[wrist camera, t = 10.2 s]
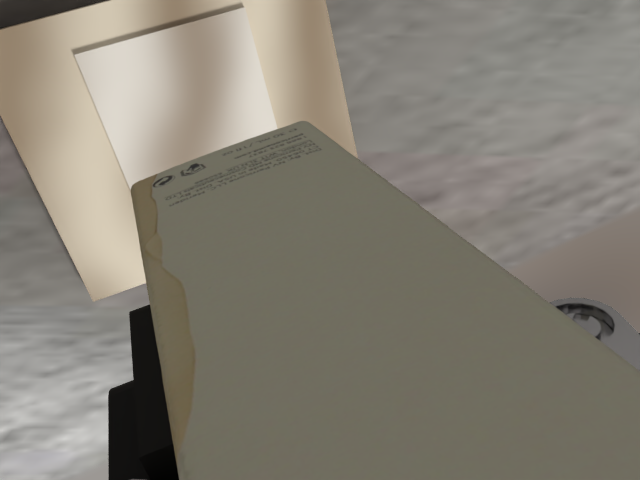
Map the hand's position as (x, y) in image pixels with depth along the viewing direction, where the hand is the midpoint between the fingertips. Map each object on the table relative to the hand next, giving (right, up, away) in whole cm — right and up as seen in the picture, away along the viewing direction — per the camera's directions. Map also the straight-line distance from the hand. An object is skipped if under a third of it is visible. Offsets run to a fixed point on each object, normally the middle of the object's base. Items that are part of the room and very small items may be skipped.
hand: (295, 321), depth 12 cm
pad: (-5, +7, +15) cm, 17 cm away
